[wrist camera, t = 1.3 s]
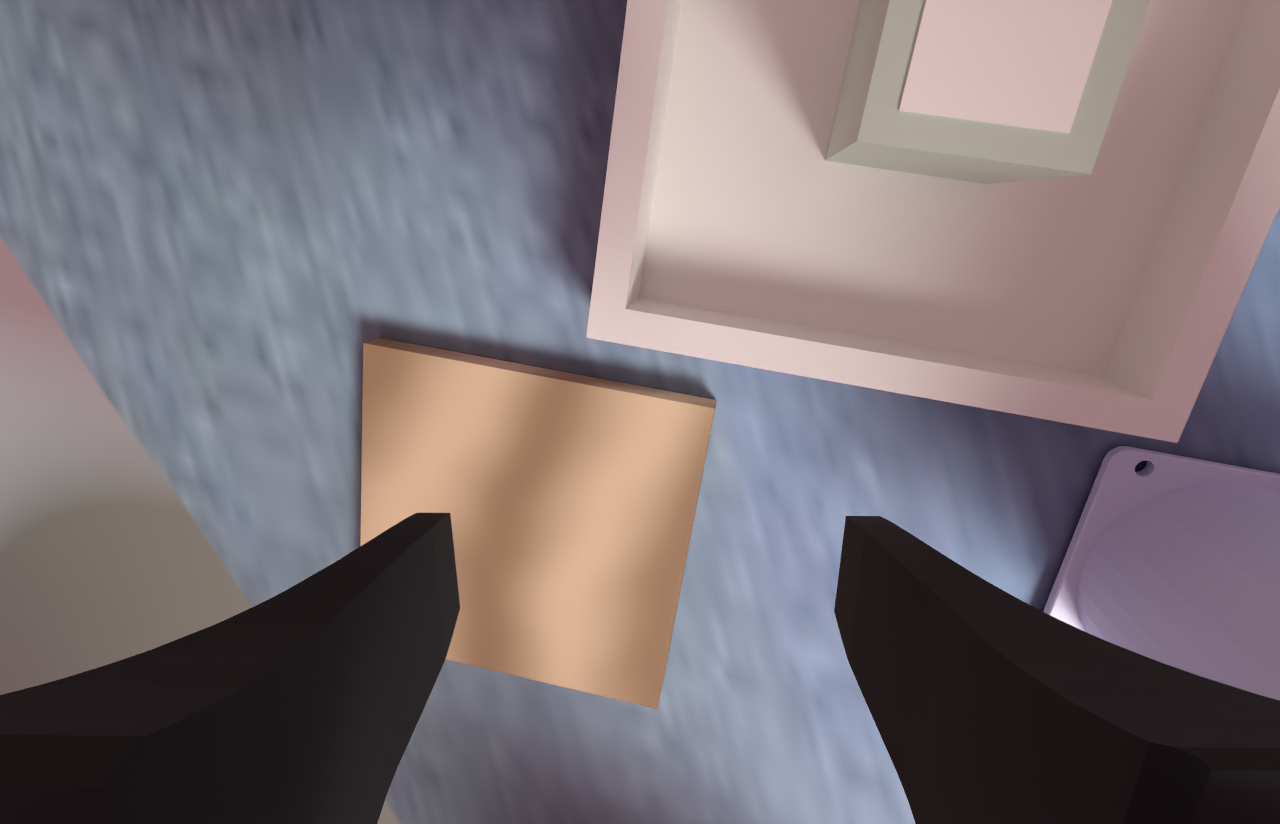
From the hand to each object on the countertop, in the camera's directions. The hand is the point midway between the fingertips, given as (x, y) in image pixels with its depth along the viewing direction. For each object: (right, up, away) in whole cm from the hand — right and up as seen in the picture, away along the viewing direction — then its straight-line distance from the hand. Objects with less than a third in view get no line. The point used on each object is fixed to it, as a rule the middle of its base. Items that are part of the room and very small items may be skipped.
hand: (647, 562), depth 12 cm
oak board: (-4, -1, +12) cm, 13 cm away
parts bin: (+8, +12, +6) cm, 16 cm away
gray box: (+8, +12, +6) cm, 15 cm away
